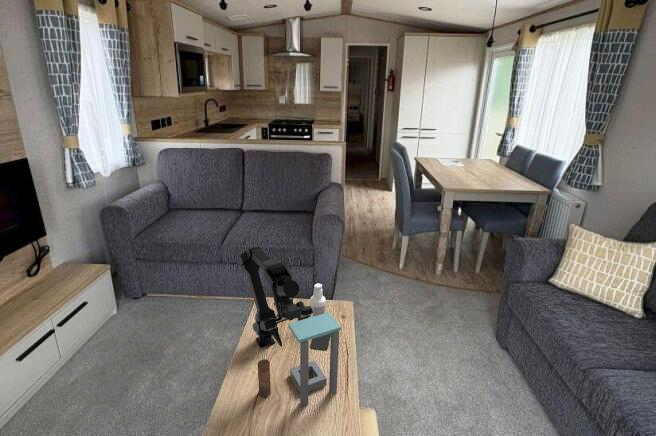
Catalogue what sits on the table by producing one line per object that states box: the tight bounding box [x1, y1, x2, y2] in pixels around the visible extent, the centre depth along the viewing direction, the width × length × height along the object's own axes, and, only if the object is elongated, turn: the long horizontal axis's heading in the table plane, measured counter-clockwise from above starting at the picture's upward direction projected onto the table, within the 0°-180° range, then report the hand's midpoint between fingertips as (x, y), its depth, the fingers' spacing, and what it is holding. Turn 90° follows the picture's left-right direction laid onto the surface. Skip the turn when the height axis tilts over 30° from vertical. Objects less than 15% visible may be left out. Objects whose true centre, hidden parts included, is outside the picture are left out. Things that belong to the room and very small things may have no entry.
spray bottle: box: [309, 282, 327, 318], centre depth 169 cm, size 7×7×18 cm
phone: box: [309, 333, 331, 351], centre depth 161 cm, size 7×1×15 cm
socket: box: [289, 360, 328, 393], centre depth 138 cm, size 10×10×3 cm
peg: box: [257, 358, 272, 399], centre depth 130 cm, size 4×4×13 cm
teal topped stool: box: [287, 312, 342, 407], centre depth 129 cm, size 10×15×27 cm, turn 118°
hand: (293, 341), depth 133 cm, fingers open, 9 cm apart
